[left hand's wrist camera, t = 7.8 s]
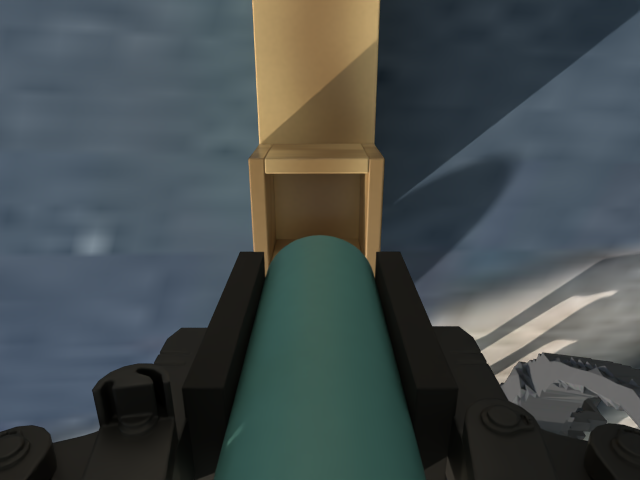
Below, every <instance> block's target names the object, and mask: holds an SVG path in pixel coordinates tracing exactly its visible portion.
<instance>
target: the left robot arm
mask: <svg viewBox="0 0 640 480" xmlns="http://www.w3.org/2000/svg"><path fill="white" fill-rule="evenodd" d="M264 281H265V260H264V252H240V253H239V256H238V258H237V260H236V263H235V265H234V267H233V270H232V272H231V274H230V277H229V279H228V281H227V284H226V286H225V288H224V291H223V293H222V295H221V298H220V300H219V302H218V305H217V307H216V309H215V312H214V314H213V316H212V319H211V321H210V323H209V326H208V328H181V329H179V330H178V331H177V332H176V333H174V334H173V335H172V336H171V337H169V338H168V339H167V340H166V342H165V344H164V346H163V348H162V349H161V351H160V355H158V357H157V358H156V360H155V362H154V364H139V363H138V364H134V365H129V366H124V367H122V368H119V369H117V370H115V371H112V372H110V373H109V374H107V375H106V376H105V377H103V378H102V379H100V380H99V381H98V383H97V384H96V385H95V387H94V388H93V389H92V392H93V396H94V401H95V406H96V410H97V415H98V419H99V424H100V429H99V431H97V432H94V433H91V434H88V435H85V436H81V437H77V438H72V439H68V440H64V441H60V442H55V443H52V439H51V435H50V434H49V433H48V432H47V431H46V430H45V429H44V428H42V427H38V426H33V425H30V426H19V427H14V428H11V429H8V430H5V431H2V432H0V480H213V479H214V475H215V472H216V468H217V464H218V460H219V456H220V452H221V448H222V444H223V440H224V437H225V433H226V429H227V425H228V421H229V417H230V413H231V409H232V406H233V402H234V398H235V394H236V390H237V386H238V382H239V378H240V374H241V371H242V367H243V363H244V359H245V355H246V351H247V347H248V343H249V339H250V336H251V332H252V328H253V324H254V320H255V316H256V312H257V308H258V304H259V301H260V297H261V293H262V289H263V285H264ZM375 281H376V285H377V289H378V293H379V296H380V300H381V304H382V308H383V312H384V316H385V320H386V324H387V328H388V332H389V336H390V339H391V343H392V347H393V351H394V355H395V359H396V363H397V367H398V371H399V375H400V379H401V382H402V386H403V390H404V394H405V398H406V402H407V406H408V410H409V414H410V418H411V422H412V425H413V429H414V433H415V437H416V441H417V445H418V449H419V453H420V457H421V461H422V465H423V468H424V472H425V476H426V480H640V430H639V429H636V428H632V427H629V426H626V425H620V424H610V423H608V424H604V425H599V426H597V427H596V428H595V429H594V430H593V431H592V432H591V433H590V437H589V440H588V441H584V440H580V439H576V438H572V437H567V436H563V435H559V434H555V433H552V432H549V431H545V430H543V429H541V428H540V426H539V424H538V423H537V421H536V419H535V418H534V416H532V415H531V414H530V413H529V412H528V411H526V410H525V409H524V408H523V407H521V406H519V405H516V404H514V403H512V402H510V401H509V400H508V399H507V397H506V395H505V393H504V391H503V390H502V388H501V386H500V384H499V383H498V381H497V379H496V377H495V375H494V374H493V372H492V370H491V368H490V367H489V365H488V364H487V363H486V360H485V358H484V356H483V354H482V353H481V352H480V349H479V347H478V345H477V344H476V342H475V340H474V338H473V337H472V336H470V335H469V334H468V333H467V332H465V331H464V330H463V329H462V328H460V327H459V326H432V325H431V323H430V320H429V318H428V316H427V313H426V311H425V309H424V306H423V304H422V302H421V299H420V297H419V295H418V292H417V290H416V288H415V285H414V283H413V281H412V278H411V276H410V274H409V271H408V269H407V267H406V264H405V262H404V260H403V257H402V255H401V253H400V252H376V265H375Z"/></svg>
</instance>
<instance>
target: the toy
mask: <svg viewBox="0 0 640 480" xmlns="http://www.w3.org/2000/svg"><path fill="white" fill-rule="evenodd" d="M500 386H501V388H502V390H503V391H504V393H505V395H506V397H507V399H508V400H509V401H510V402H512V403H514V404H516V405H519V406H521V407H523V408H524V409H525V410H526V411H528V412H529V413H530V414H531V415H532V416H534V418H535V419H536V421H537V423H538V424H539V426H540V428H541V429H543V430H545V431H549V432H552V433H555V434H559V435H563V436H567V437H572V438H576V439H580V440H583V439H584V437H585V434H584V432H583V431H593V430H594V429H595V428H596V427H597V426H599V425H604V424H606V423H607V421H606V419H605V418H604V417H603V416H602V415H601V414H600V412H599V411H598V409H597V408H596V407H597V406H598V404H599V403H600V401H601V400H603V402H604V403H605V404H606V405H607V406H610V407H615V408H616V409H617V410H622V411H626V413H627V414H628V415H629V416H630V417H631V418H632V420H633V421H634V422H635V423H636V424H637V425H638V427H639V428H640V370H639V369H633V368H631V367H630V366H624V365H622V364H616V363H613V362H609V361H600V360H592V359H591V358H583V357H575V356H567V355H559V354H551V353H543V352H542V354H538V357H537V359H533V360H530V361H529V362H528V363H526V362H518V364H517V365H516V366H514V368H513V370H512V372H511V374H510V375H509V377H508V378H507V380H506V382H505V383H501V384H500ZM578 408H582V409H583V410H584V411H579V412H576V411H577V409H578Z"/></svg>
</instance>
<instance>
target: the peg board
mask: <svg viewBox="0 0 640 480" xmlns="http://www.w3.org/2000/svg"><path fill="white" fill-rule="evenodd" d="M252 3H253V23H254V43H255V64H256V84H257V104H258V125H259V146H258V147H257V148H256V150H255V151H254V152H253V154H252V155H251V156H250V158H249V176H250V194H251V211H252V228H253V245H254V252H264V260H265V277H266V273H267V270H268V267H269V265H270V263H271V261H272V260H273V258H274V257H275V256H276V255H277V253H278V252H279V251H280V250H281V249H283V248H284V247H285V246H287V245H288V244H290V243H291V242H293V241H296V240H298V239H301V238H304V237H308V236H315V235H325V236H332V237H336V238H339V239H342V240H345V241H347V242H349V243H350V244H352V245H354V246H355V247H356V248H357V249H359V250H360V251H361V252H362V253H363V254H364V256H365V257H366V258H367V260H368V261H369V263H370V265H371V267H372V270H373V273H374V277H375V265H376V252H380V246H381V225H382V205H383V184H384V163H385V159H384V157H383V156H382V154H381V153H380V151H379V150H378V149H377V147H376V146H375V144H374V142H375V117H376V91H377V66H378V41H379V16H380V0H252Z"/></svg>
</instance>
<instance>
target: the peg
mask: <svg viewBox="0 0 640 480" xmlns="http://www.w3.org/2000/svg"><path fill="white" fill-rule="evenodd" d="M213 480H426V476H425V472H424V468H423V465H422V461H421V457H420V453H419V449H418V445H417V441H416V437H415V433H414V429H413V425H412V422H411V418H410V414H409V410H408V406H407V402H406V398H405V394H404V390H403V386H402V382H401V379H400V375H399V371H398V367H397V363H396V359H395V355H394V351H393V347H392V343H391V339H390V336H389V332H388V328H387V324H386V320H385V316H384V312H383V308H382V304H381V300H380V296H379V293H378V289H377V285H376V281H375V277H374V273H373V270H372V267H371V265H370V263H369V261H368V260H367V258H366V257H365V256H364V254H363V253H362V252H361V251H360V250H359V249H357V248H356V247H355V246H354V245H352V244H350V243H349V242H347V241H345V240H342V239H339V238H336V237H332V236H325V235H315V236H308V237H304V238H301V239H298V240H296V241H293V242H291V243H290V244H288V245H287V246H285V247H284V248H283V249H281V250H280V251H279V252H278V253H277V255H276V256H275V257H274V258H273V260H272V261H271V263H270V265H269V267H268V270H267V273H266V277H265V281H264V285H263V289H262V293H261V297H260V301H259V304H258V308H257V312H256V316H255V320H254V324H253V328H252V332H251V336H250V339H249V343H248V347H247V351H246V355H245V359H244V363H243V367H242V371H241V374H240V378H239V382H238V386H237V390H236V394H235V398H234V402H233V406H232V409H231V413H230V417H229V421H228V425H227V429H226V433H225V437H224V440H223V444H222V448H221V452H220V456H219V460H218V464H217V468H216V472H215V475H214V479H213Z"/></svg>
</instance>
